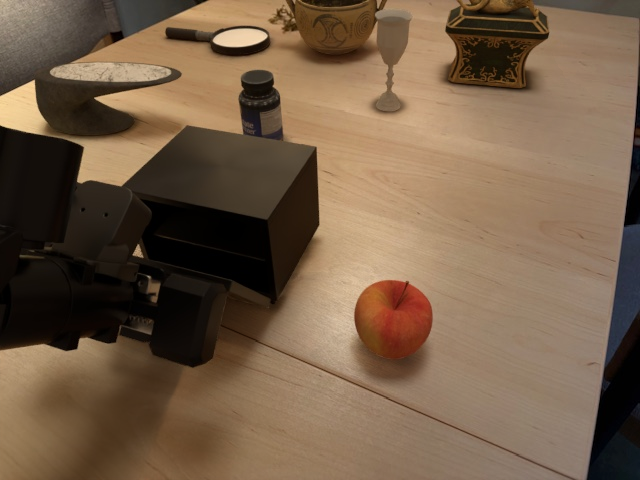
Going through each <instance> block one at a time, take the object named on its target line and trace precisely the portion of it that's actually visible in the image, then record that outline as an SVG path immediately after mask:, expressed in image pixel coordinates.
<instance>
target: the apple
mask: <svg viewBox="0 0 640 480" xmlns="http://www.w3.org/2000/svg"><path fill="white" fill-rule="evenodd" d="M433 319H434V314H433V307H432V305H431V302H430V300H429V299H428V297H427V296H426V295H425V293H424V292H422V291H421V290H420V289H419V288H418V287H416V286H415V285H413V284H411V283H410V281H409V280H405V281H402V280H397V279H385V280H379V281H376V282H374V283H372V284H370V285H368V286H367V287H366V288H365V289H363V291H362V292H361V293H360V295H359V296H358V298H357V300H356V303H355V307H354V313H353V321H354V326H355V330H356V333H357V336H358V337H359V340H361V342H362V343H363V345H364V346H365V347H366V348H367V350H369V351H370V352H372V353H373V354H374V355H377V356H379V357H381V358H384V359H388V360H399V359H404V358H406V357H409V356H411V355H413V354H414V353H416V352H417V351H418V350H419V349H421V347H423V346H424V344H425V343H426V341H427V340H428V338H429V336H430V334H431V332H432V328H433V321H434V320H433Z"/></svg>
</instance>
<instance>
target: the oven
mask: <svg viewBox="0 0 640 480" xmlns="http://www.w3.org/2000/svg"><path fill="white" fill-rule="evenodd" d="M318 168H319V167H318V147H317V145H316V146H315V145H310V144H303V143H298V142H293V141H286V140H284V141H280V140H274V139H267V138H261V137H255V136H249V135H243V133H236V132H231V131H225V130H219V129H212V128H207V127H200V126H194V125H189V124H187V125H185V126H184V127H183V128H182V129H181V130H180V131H178V133H176V135H174V137H172V138H171V139H170V140H169V141H168V142H167V143H166V144H165V145H164V146H163V147H162V148H161V149H160V150H158V151H157V153H155V154H154V155H153V156H152V157H151V158H149V160H148V161H147V162H145V163H144V164H143V166H141V167H140V168H139V169H138V170H137V171H136V172H135V173H134V174H133V175H131V176H130V178H128V179H127V180H126V181H125V182H124V183H123V184H122V185H121V186H122V187H126V188H128V189H130V190H131V191H132V192H133V193H134V194H135V195H136V196H137V197H138V198H139V199H140V200H141V201H142V202H143V203H144V204H145V205H146V206H147V207H148V208H149V209H150V210H151V212H152V218H151V221H150V223H149V225H148V226H146V228H145V230H144V232H143V234H142V237H141V239H140V241H139V243H138V247H139V249H140V252H141V255H142V258H146V259H150V260H154V261H158V262H162V263H166V264H170V265H174V266H178V267H182V268H186V269H190V270H194V271H198V272H202V273H206V274H210V275H214V276H218V277H222V278H226V279H230V280H233V281H235V282H237V283H239V284H241V285H243V286H245V287H247V288H249V289H251V290H254V291H256V292H258V293H260V294H262V295H264V296H266V297H268V298H270V299H271V301H270V305H273V306H274V305H276V302H278V301H279V299H280V298H281V295H282V293H283V292H284V290H285V288H286V286H287V285H288V283H289V281H290V279H291V278H292V275H293V274H294V272H295V270H296V269H297V268H298V267H297V266H298V264H299V263H300V261H301V260H302V258H303V256H304V254H305V252H306V250H307V249H308V247H309V245H310V244H311V242H312V239H313V238H314V236H315V234H316V232H317V231H318V229H319V227H320V225H321V224H320V199H319V198H320V197H319V195H320V194H319V175H318V174H319V173H318V172H319V171H318Z"/></svg>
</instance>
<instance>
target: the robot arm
mask: <svg viewBox="0 0 640 480" xmlns="http://www.w3.org/2000/svg"><path fill="white" fill-rule="evenodd" d="M84 151H85V147H84V146H83V145H82V144H80V143H77V142H75V141H72V140H70V139H66V138H63V137H57V136H51V135H46V134H45V135H44V134H40V133H34V132H28V131H24V130H19V129H16V128H11V127H6V126H3V125H1V124H0V352H1V351H6V350H14V349H20V348H27V347H33V346H41V345H45V346H49V347H52V348H55V349H57V350H61V351H64V352H70V351H77V350H78V348H79V344H80V343H79V342H80V339H86V338H87V339H90V340H92V341H93V340H94V341H96V342H98V343H99V342H100V343H102V344H106V345H109V344H116V343H117V342H118V336H120V337H123V338H127V339H129V340H132V341H137V342H140V343H144V344H146V343H148V347H149V349H150V351H151V354H152V357H156V358H158V359H162V360H166V361H169V362H172V363H176V364H179V365H182V366H185V367H188V368H191V369H195V368H197V367H200V366H204V365H206V364H207V363H209V362H210V361H212V360H214V356H215V353H216V347H217V343H218V338H219V334H220V330H221V324H222V320H223V316H224V313H225V307H226V302H227V294H228V292H227V290H226V288H225V287H224V285H223V284H222V283H218V282H214V281H210V280H206V279H202V278H199V277H195V276H189V275H183V274H171V275H170V276H169V278H168V279H167V277H166V274H165V272H164V271H163V270H162V269H161V268H157V267H153V266H149V265H145V264H142V263H138V262H136V263H135V264H134V263H130V262H128V259H129V258H130V257H131V256H132V255H134V254H135V251H136V249H137V247H138V246H139V244H138V243H139V241H140V239H141V237H142V234H143V232H144V230H145V228H146V226H148V225H149V223H150V221H151V218H152V212H151V210H150V209H149V208H148V207H147V206H146V205H145V204H144V203H143V202H142V201H141V200H140V199H139V198H138V197H137V196H136V195H135V194H134V193H133V192H132V191H131V190H130V189H128V188H126V187H122V185H117V184H112V183H107V182H104V181H103V182H102V181H98V180H93V179H91V180H85V181H83V182H79V181H78V180H79V174H80V169H81V166H82V160H83V155H84Z"/></svg>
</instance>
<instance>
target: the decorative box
mask: <svg viewBox="0 0 640 480" xmlns="http://www.w3.org/2000/svg"><path fill="white" fill-rule="evenodd" d="M468 1H469V2H467V3H464V2H463V0H456V2H457V3H458V5H459V6H456V7H454V8H453V9H450V10H449V13H448V16H447V20H446V24H445V30H444V32H445V33H446V34H447V36H448V37H449V38H450V39H451V40H452V42H453V44H454V47H455V56H454V58H453V60H452V62H451V66H450V69H449V74H448V77H447V78H448V79H447V80H448V81H450V82H452V83H455V84H467V85H476V86H477V85H478V86H487V87H488V86H489V87H499V88H510V89H522V88H524V87H526V85H527V84H526V63H527V59H528V57H529V55H530V53H531V52H532V51H533V50H534V49H535V48H536V47H538V46H539V45H540V44H542V43H543V42H545V41H546V40H548V38H549V37H550V25H549V17H548V15H546V14H545V13H544V12H542V10H540V9H539V8H538V7H537V8H536V7H535V4H534V1H533V0H468Z"/></svg>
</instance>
